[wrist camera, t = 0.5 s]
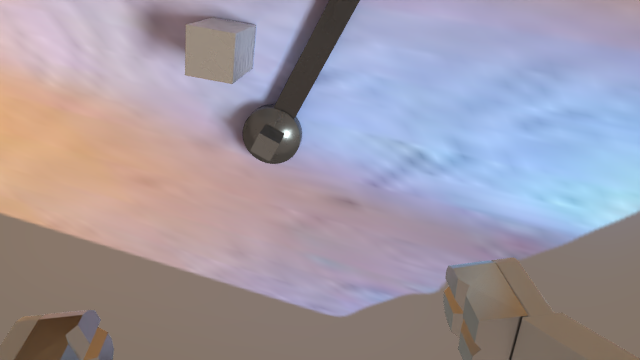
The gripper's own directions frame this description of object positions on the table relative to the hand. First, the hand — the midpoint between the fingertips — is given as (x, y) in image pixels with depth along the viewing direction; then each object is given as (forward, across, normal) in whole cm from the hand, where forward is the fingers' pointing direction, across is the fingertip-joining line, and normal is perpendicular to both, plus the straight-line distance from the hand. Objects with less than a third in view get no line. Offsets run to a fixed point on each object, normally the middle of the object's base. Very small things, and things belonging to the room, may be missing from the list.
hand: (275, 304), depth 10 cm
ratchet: (+42, -2, +8) cm, 43 cm away
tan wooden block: (+44, +6, +4) cm, 44 cm away
